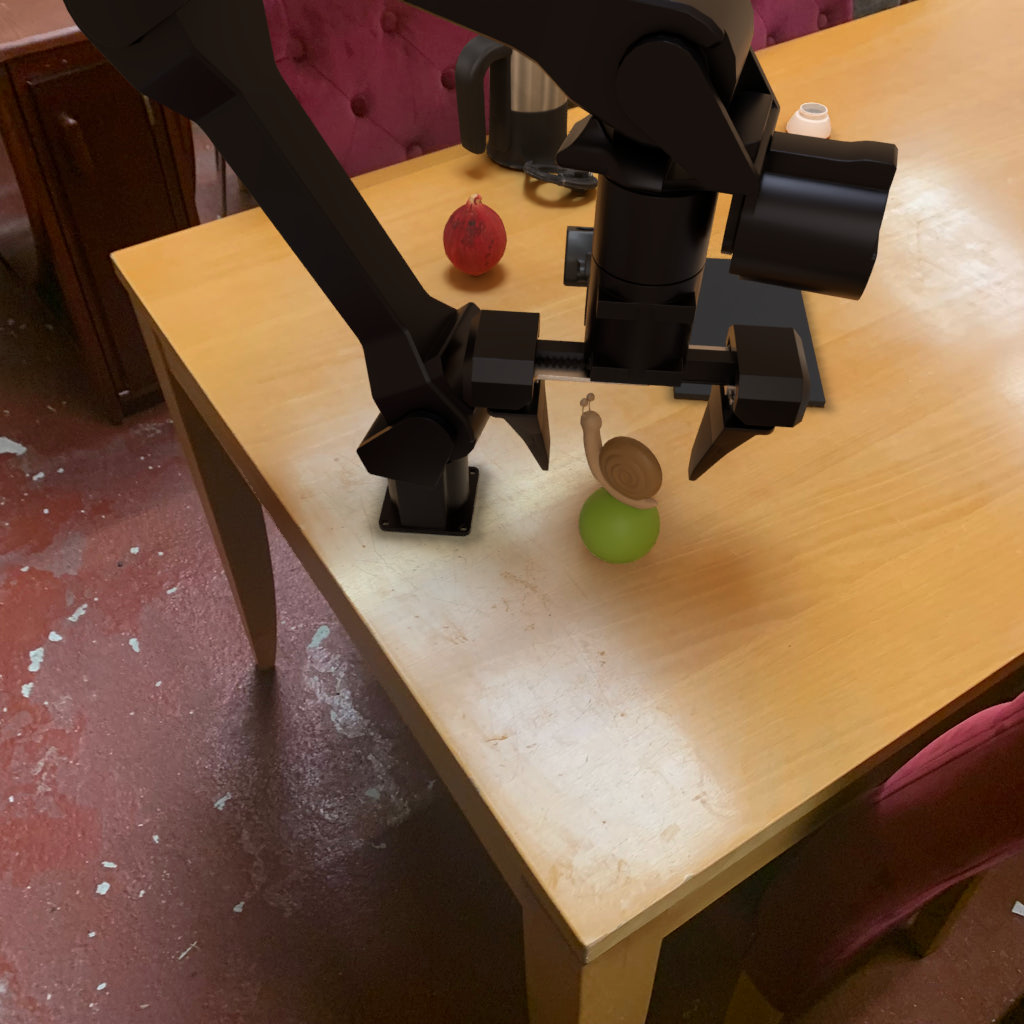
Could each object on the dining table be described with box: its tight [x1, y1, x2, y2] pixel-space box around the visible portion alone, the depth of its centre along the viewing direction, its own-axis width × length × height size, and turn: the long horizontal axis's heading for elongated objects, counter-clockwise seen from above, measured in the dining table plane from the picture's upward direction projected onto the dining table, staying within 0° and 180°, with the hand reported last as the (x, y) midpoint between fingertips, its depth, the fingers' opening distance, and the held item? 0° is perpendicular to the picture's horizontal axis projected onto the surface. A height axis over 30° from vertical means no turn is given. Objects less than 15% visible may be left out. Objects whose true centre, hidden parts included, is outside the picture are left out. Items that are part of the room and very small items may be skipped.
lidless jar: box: [785, 102, 833, 139], centre depth 102 cm, size 5×3×5 cm
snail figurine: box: [578, 392, 663, 565], centre depth 57 cm, size 5×6×12 cm
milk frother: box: [454, 35, 598, 194], centre depth 92 cm, size 14×16×15 cm
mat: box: [673, 257, 827, 408], centre depth 78 cm, size 20×12×1 cm, turn 175°
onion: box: [442, 192, 508, 277], centre depth 81 cm, size 6×6×8 cm
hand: (618, 470), depth 56 cm, fingers open, 9 cm apart
